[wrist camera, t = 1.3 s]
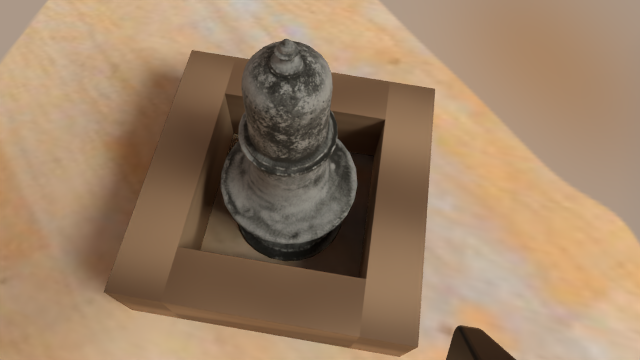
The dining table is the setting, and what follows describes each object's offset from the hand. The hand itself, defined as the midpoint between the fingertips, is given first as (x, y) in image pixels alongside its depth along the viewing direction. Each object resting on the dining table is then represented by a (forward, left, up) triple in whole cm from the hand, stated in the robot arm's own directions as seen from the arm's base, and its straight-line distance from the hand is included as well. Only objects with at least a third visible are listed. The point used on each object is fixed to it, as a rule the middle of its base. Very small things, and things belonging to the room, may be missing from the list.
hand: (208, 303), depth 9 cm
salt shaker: (+7, +3, -13) cm, 15 cm away
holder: (+7, +3, -13) cm, 15 cm away
